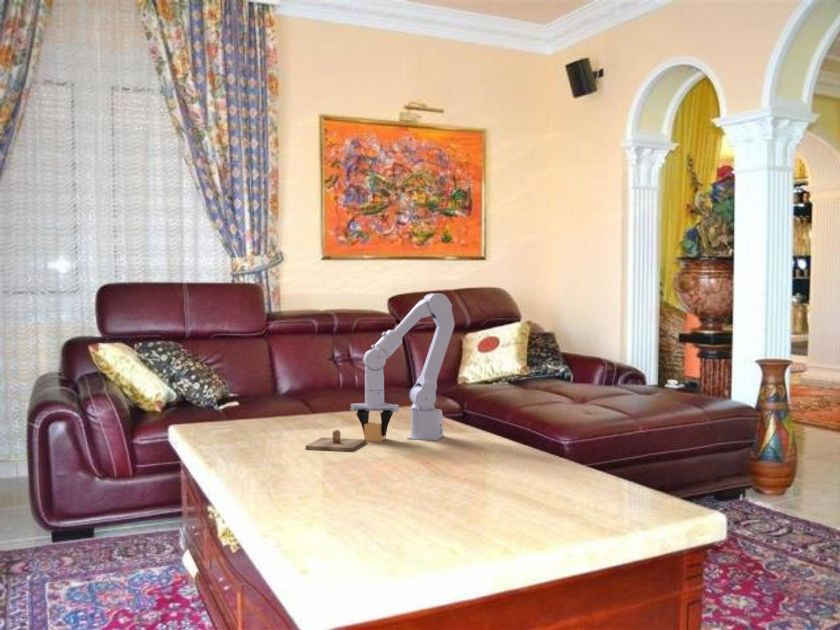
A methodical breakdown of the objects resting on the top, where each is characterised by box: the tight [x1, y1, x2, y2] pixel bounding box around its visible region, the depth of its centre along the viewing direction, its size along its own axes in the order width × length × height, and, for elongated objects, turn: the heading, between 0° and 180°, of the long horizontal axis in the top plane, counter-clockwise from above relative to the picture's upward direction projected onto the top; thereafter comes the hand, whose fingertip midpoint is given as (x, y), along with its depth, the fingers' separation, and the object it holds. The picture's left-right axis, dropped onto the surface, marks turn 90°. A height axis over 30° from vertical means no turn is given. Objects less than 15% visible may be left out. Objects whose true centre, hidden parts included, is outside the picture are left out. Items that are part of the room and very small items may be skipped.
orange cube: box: [363, 420, 387, 443], centre depth 222 cm, size 5×5×5 cm
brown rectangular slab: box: [305, 429, 368, 452], centre depth 213 cm, size 14×12×5 cm
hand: (375, 435), depth 222 cm, fingers closed on orange cube, 5 cm apart
